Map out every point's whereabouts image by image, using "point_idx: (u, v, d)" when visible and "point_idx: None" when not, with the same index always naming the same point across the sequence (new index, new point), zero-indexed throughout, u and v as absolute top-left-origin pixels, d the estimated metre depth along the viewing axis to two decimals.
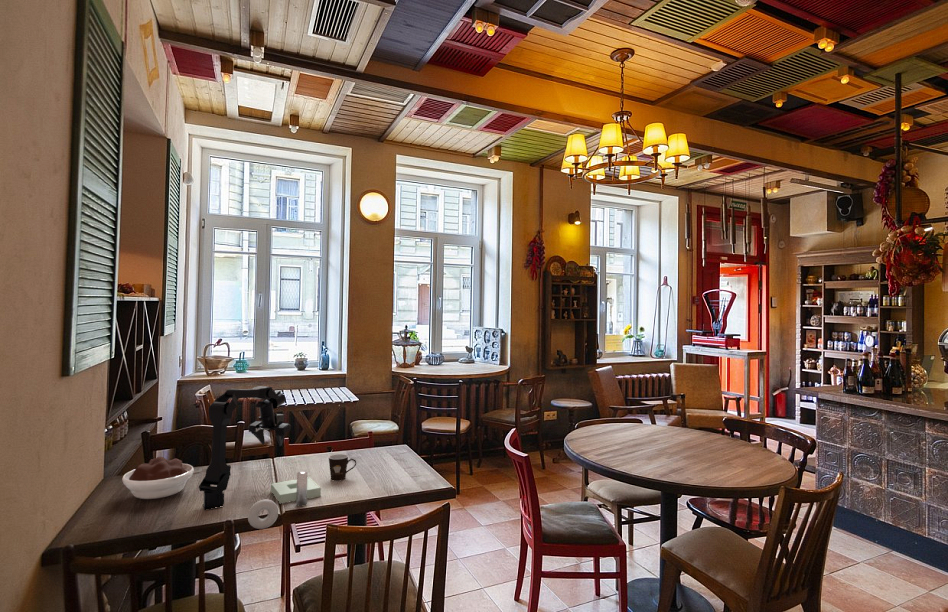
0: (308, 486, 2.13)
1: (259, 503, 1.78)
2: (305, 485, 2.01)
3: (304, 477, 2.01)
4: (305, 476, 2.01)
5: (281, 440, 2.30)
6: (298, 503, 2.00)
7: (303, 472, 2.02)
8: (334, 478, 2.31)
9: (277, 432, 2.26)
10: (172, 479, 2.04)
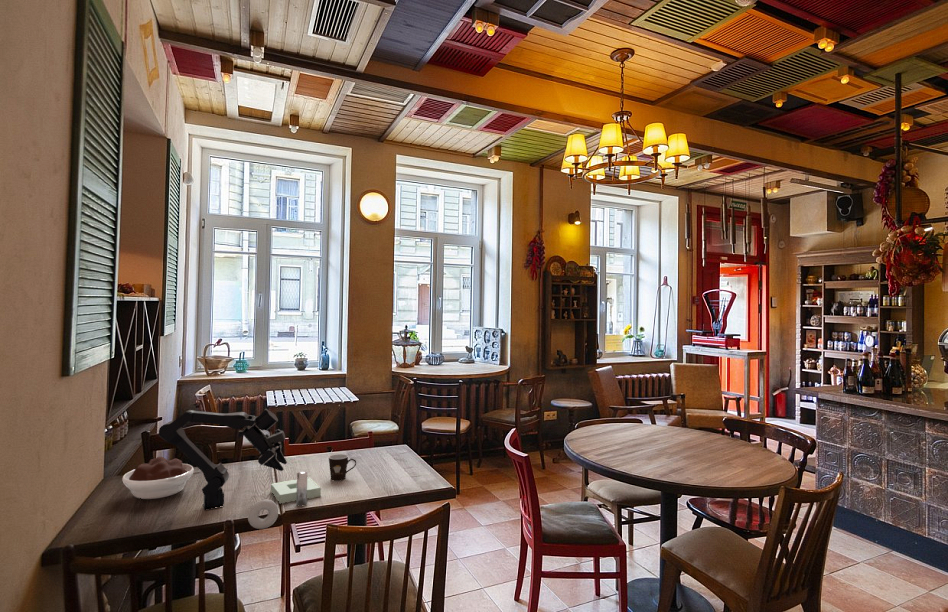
0: (308, 486, 2.13)
1: (259, 503, 1.78)
2: (305, 485, 2.01)
3: (304, 477, 2.01)
4: (305, 476, 2.01)
5: (276, 466, 1.99)
6: (298, 503, 2.00)
7: (303, 472, 2.02)
8: (334, 478, 2.31)
9: None
10: (172, 479, 2.04)
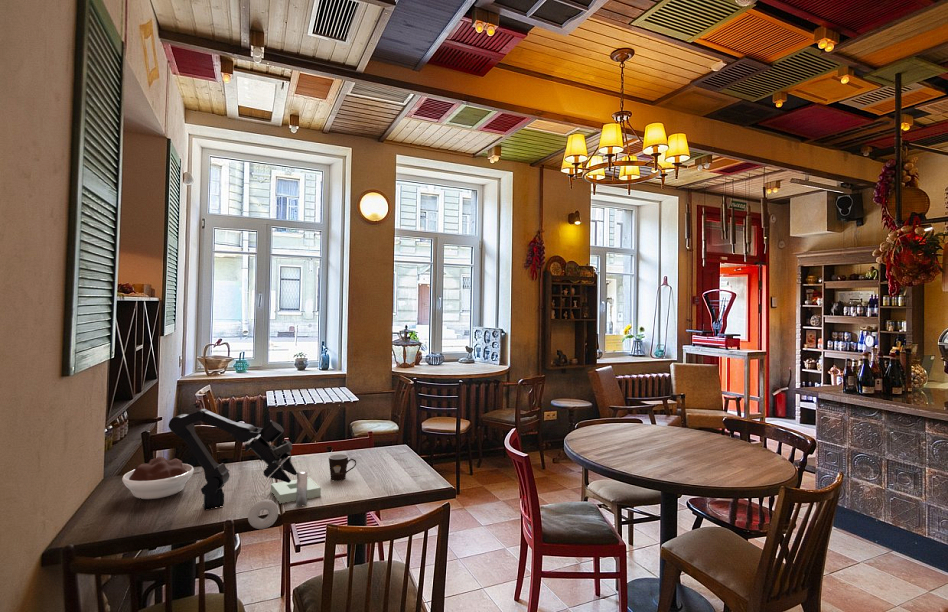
0: (308, 486, 2.13)
1: (259, 503, 1.78)
2: (305, 485, 2.01)
3: (304, 477, 2.01)
4: (305, 476, 2.01)
5: (283, 478, 1.96)
6: (298, 503, 2.00)
7: (303, 472, 2.02)
8: (334, 478, 2.31)
9: None
10: (172, 479, 2.04)
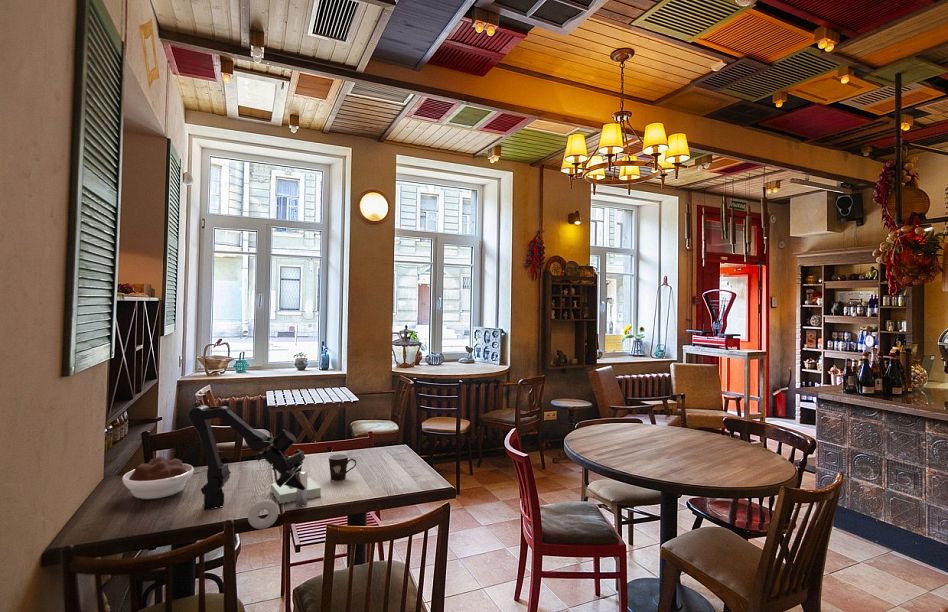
0: (308, 486, 2.13)
1: (259, 503, 1.78)
2: (305, 485, 2.01)
3: (304, 477, 2.01)
4: (305, 476, 2.01)
5: (297, 485, 1.99)
6: (298, 503, 2.00)
7: (303, 472, 2.02)
8: (334, 478, 2.31)
9: None
10: (172, 479, 2.04)
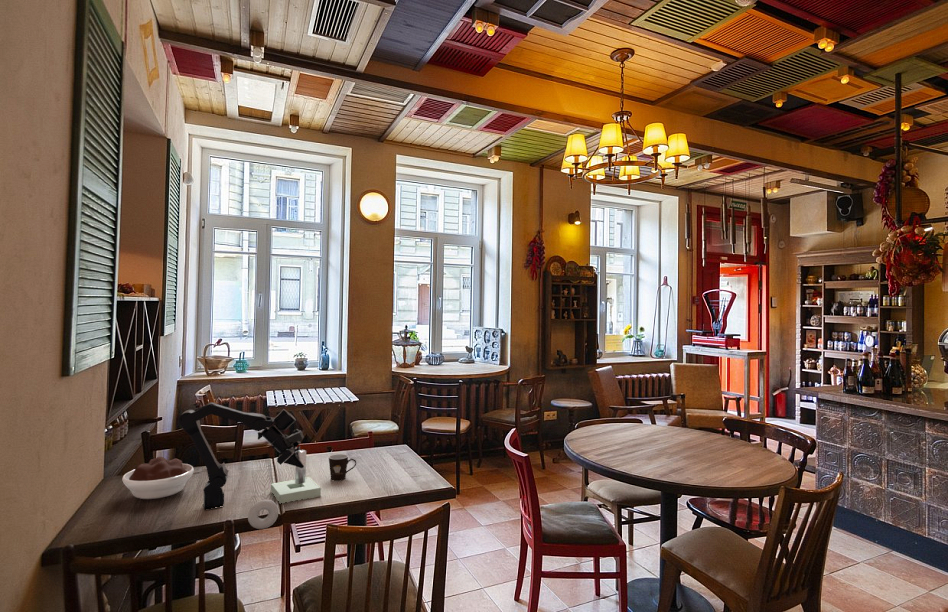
0: (308, 486, 2.13)
1: (259, 503, 1.78)
2: (304, 463, 2.07)
3: (303, 456, 2.07)
4: (304, 455, 2.07)
5: (296, 463, 2.05)
6: (297, 481, 2.06)
7: (302, 451, 2.08)
8: (334, 478, 2.31)
9: None
10: (172, 479, 2.04)
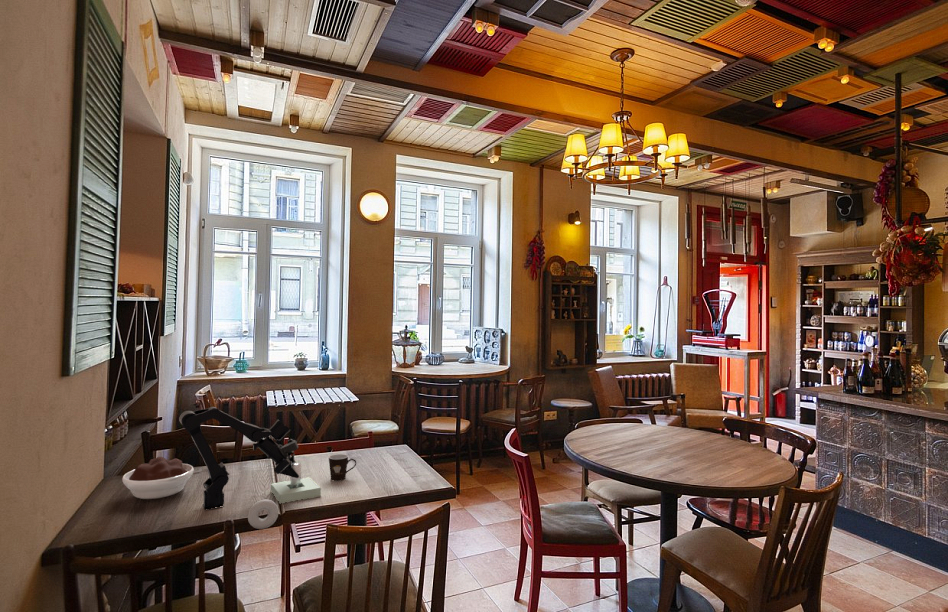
0: (308, 486, 2.13)
1: (259, 503, 1.78)
2: (299, 476, 2.13)
3: (298, 468, 2.13)
4: (299, 467, 2.13)
5: (292, 473, 2.09)
6: None
7: (297, 463, 2.14)
8: (334, 478, 2.31)
9: None
10: (172, 479, 2.04)
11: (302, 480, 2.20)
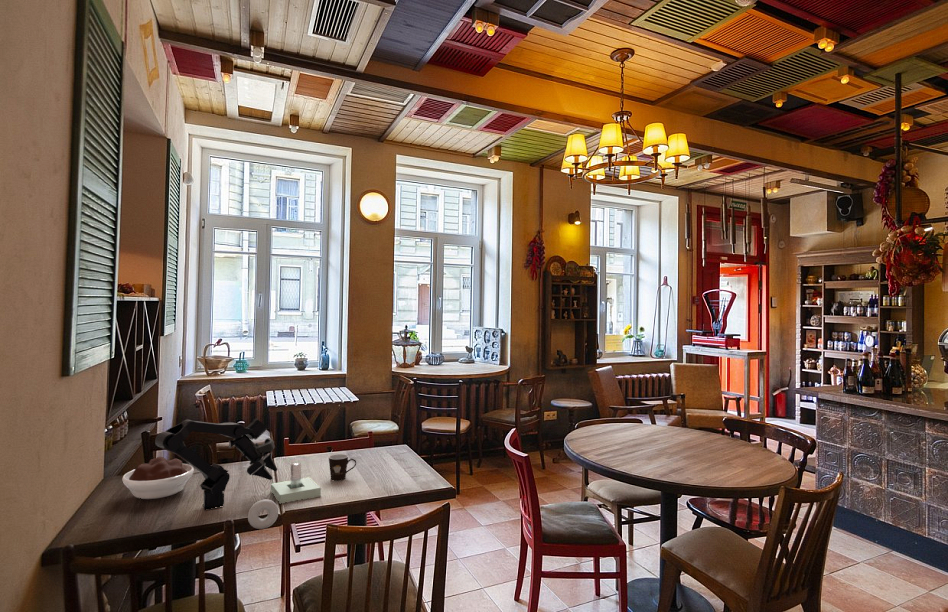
0: (308, 486, 2.13)
1: (259, 503, 1.78)
2: (299, 476, 2.13)
3: (298, 468, 2.13)
4: (299, 467, 2.13)
5: (265, 475, 2.06)
6: None
7: (297, 463, 2.14)
8: (334, 478, 2.31)
9: None
10: (172, 479, 2.04)
11: (302, 480, 2.20)
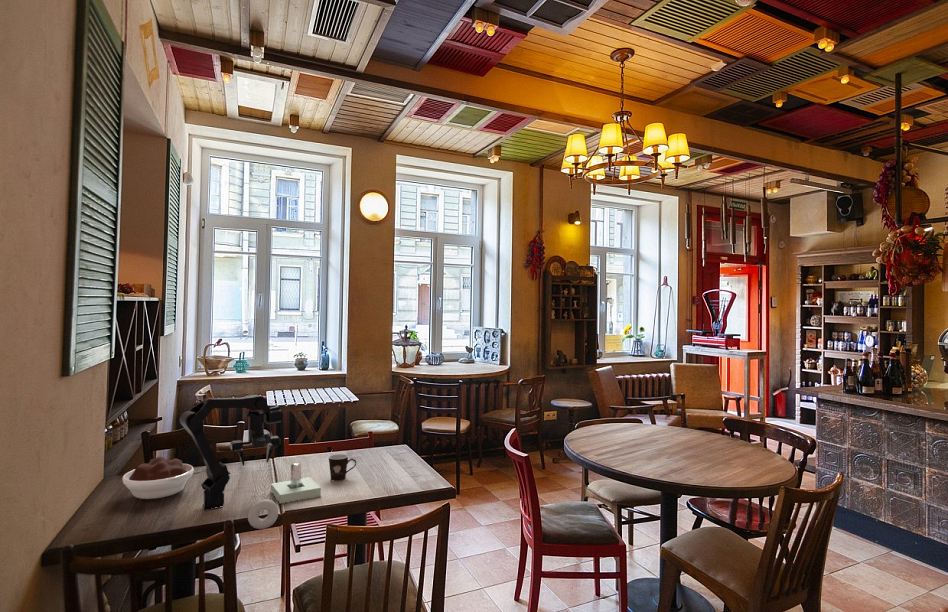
0: (308, 486, 2.13)
1: (259, 503, 1.78)
2: (299, 476, 2.13)
3: (298, 468, 2.13)
4: (299, 467, 2.13)
5: (240, 458, 2.09)
6: None
7: (297, 463, 2.14)
8: (334, 478, 2.31)
9: None
10: (172, 479, 2.04)
11: (302, 480, 2.20)
